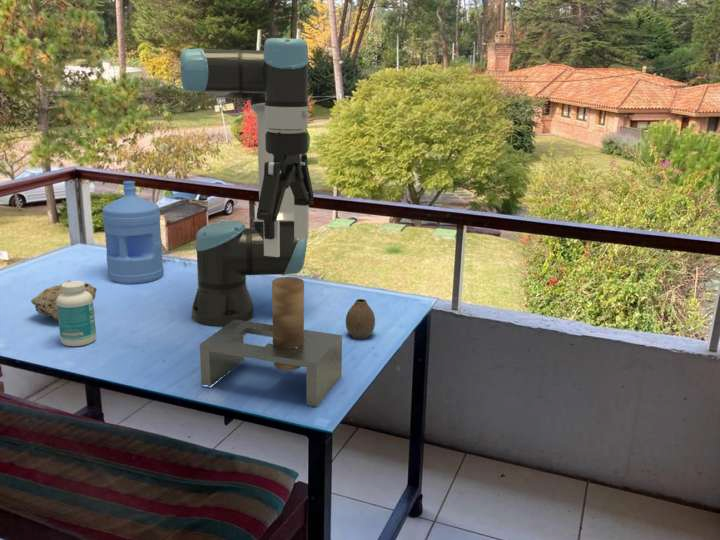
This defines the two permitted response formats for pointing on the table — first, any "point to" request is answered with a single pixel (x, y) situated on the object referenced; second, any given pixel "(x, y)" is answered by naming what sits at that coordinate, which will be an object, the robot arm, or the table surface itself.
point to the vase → (360, 320)
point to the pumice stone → (54, 299)
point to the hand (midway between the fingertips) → (287, 246)
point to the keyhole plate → (274, 356)
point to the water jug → (133, 238)
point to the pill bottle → (76, 314)
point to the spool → (288, 315)
